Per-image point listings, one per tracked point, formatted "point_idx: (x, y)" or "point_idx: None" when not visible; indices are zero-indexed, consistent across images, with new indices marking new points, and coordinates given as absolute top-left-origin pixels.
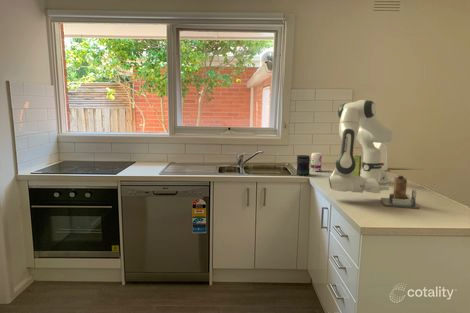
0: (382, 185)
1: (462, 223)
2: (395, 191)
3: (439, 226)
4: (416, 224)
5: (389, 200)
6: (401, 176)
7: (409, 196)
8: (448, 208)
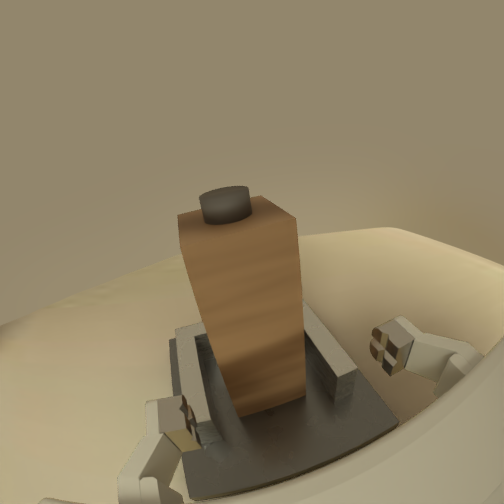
0: (199, 444)
1: (365, 231)
2: (302, 335)
3: (438, 245)
4: (482, 270)
5: (255, 435)
6: (243, 187)
7: None
8: None
